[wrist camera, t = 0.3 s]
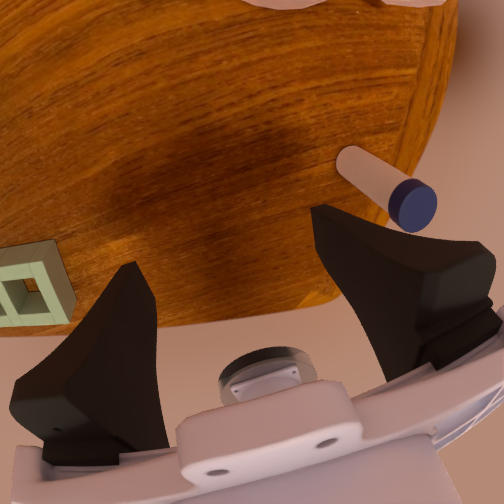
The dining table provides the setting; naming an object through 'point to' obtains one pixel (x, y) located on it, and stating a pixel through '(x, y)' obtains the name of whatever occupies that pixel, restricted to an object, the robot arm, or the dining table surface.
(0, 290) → the tube rack
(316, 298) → the dining table surface
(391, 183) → the test tube
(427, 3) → the mug
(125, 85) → the dining table surface
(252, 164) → the dining table surface
